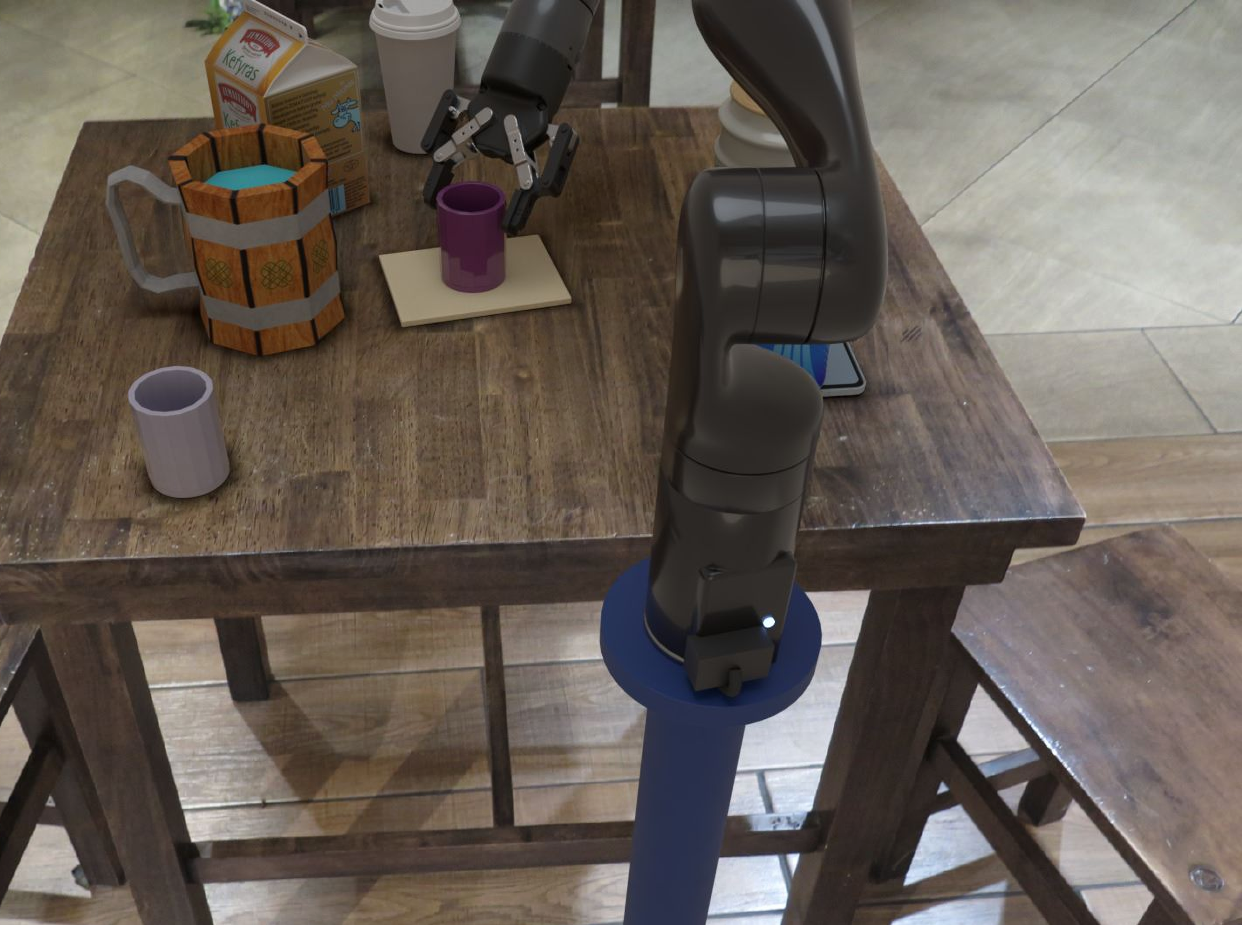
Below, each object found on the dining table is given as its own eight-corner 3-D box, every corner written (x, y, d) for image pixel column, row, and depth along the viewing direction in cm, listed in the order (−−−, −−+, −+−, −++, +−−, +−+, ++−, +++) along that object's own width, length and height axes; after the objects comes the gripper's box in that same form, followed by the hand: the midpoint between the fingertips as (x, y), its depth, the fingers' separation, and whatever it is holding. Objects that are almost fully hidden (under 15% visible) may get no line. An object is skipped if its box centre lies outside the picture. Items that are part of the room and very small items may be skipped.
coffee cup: (383, 121, 144) (373, -17, 134) (467, 122, 144) (463, -16, 133) (374, 160, 137) (362, 18, 127) (462, 161, 137) (457, 19, 127)
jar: (825, 199, 131) (858, 26, 119) (844, 265, 122) (881, 85, 110) (700, 197, 131) (719, 24, 119) (709, 263, 122) (731, 82, 110)
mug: (355, 276, 121) (339, 124, 110) (335, 358, 111) (316, 200, 100) (151, 272, 121) (116, 120, 111) (114, 353, 112) (71, 196, 101)
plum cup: (513, 288, 118) (512, 209, 112) (448, 297, 117) (444, 218, 111) (497, 255, 122) (496, 177, 117) (434, 263, 121) (430, 185, 116)
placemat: (571, 303, 117) (571, 298, 117) (401, 327, 114) (401, 322, 114) (538, 239, 125) (538, 234, 125) (379, 260, 123) (378, 255, 122)
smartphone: (783, 392, 106) (746, 292, 116) (781, 401, 107) (745, 301, 117) (869, 388, 107) (825, 288, 117) (867, 397, 107) (823, 297, 118)
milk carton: (228, 197, 132) (195, 9, 118) (312, 166, 136) (290, -18, 123) (283, 236, 126) (255, 43, 112) (370, 202, 131) (352, 13, 117)
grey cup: (233, 491, 98) (215, 408, 93) (152, 504, 97) (129, 421, 92) (226, 442, 103) (209, 360, 97) (148, 454, 102) (126, 372, 96)
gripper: (454, 13, 113) (386, 184, 115) (591, 48, 108) (518, 227, 109) (489, 52, 120) (424, 213, 121) (619, 87, 115) (549, 255, 116)
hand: (469, 219), depth 115 cm, fingers open, 8 cm apart
